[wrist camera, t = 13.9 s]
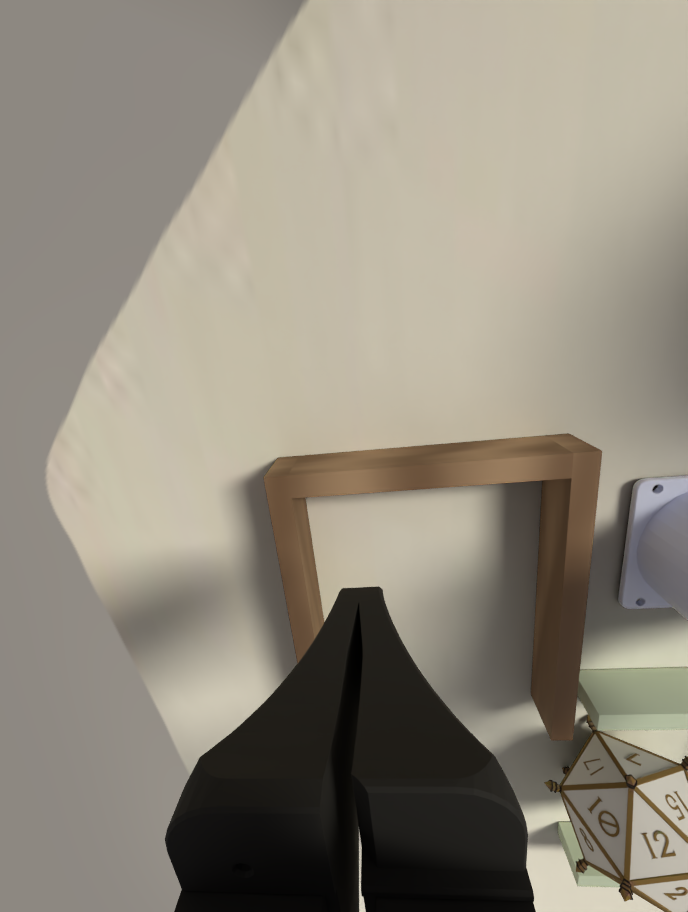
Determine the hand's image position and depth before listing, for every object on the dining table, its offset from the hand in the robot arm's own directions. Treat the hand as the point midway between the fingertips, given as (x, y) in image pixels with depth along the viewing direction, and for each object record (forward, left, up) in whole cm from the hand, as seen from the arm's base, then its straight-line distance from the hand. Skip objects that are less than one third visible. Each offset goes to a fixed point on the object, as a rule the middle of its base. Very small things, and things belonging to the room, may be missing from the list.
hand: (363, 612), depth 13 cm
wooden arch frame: (-3, +6, -9) cm, 12 cm away
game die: (-14, +20, -10) cm, 26 cm away
